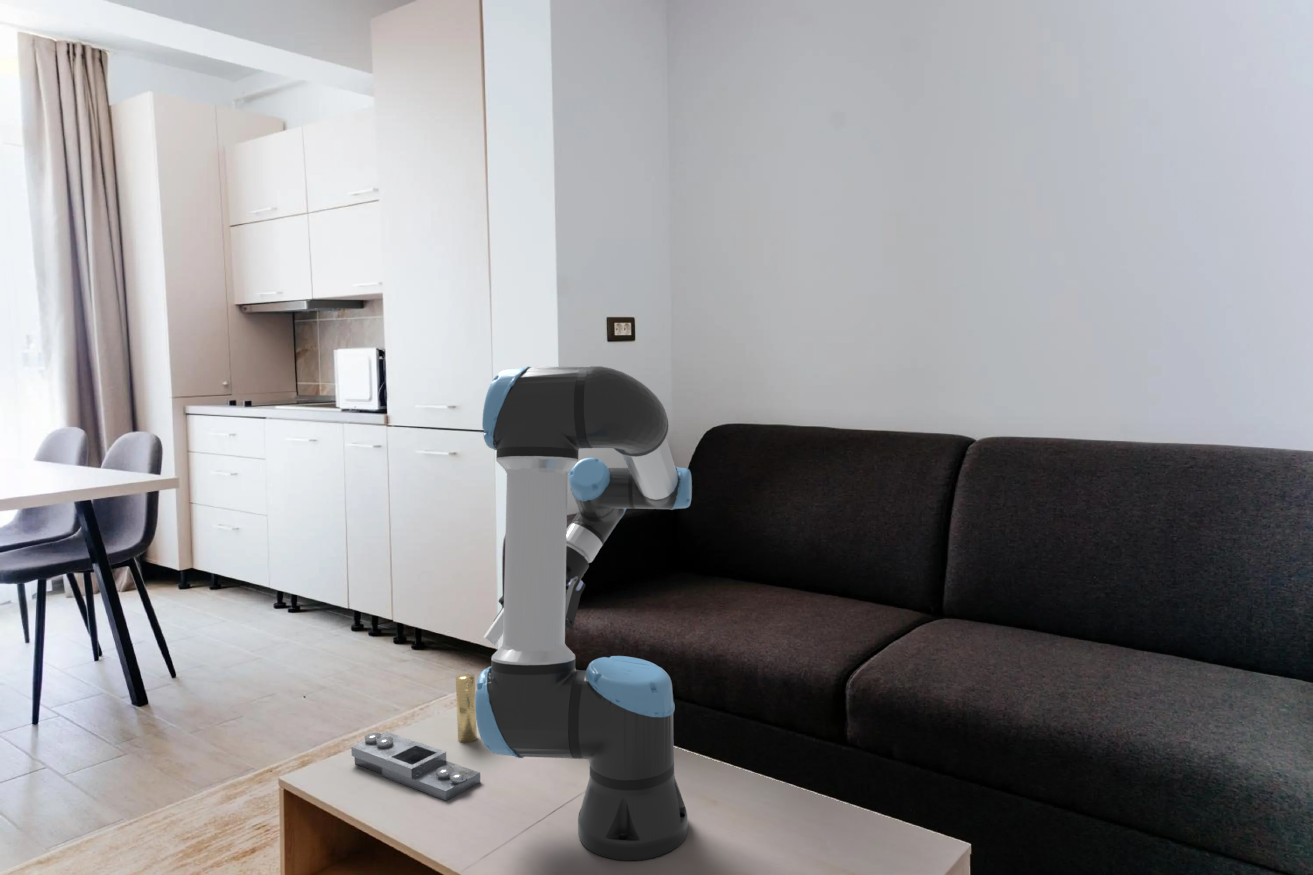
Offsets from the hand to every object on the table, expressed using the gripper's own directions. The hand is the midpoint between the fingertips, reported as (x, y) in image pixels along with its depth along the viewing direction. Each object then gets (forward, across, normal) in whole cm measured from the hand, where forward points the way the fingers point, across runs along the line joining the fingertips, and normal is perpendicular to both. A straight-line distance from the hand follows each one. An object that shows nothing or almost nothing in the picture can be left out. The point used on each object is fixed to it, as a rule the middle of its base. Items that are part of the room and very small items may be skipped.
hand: (509, 649), depth 157 cm
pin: (+16, 0, -3) cm, 16 cm away
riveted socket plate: (+25, -6, +6) cm, 27 cm away
